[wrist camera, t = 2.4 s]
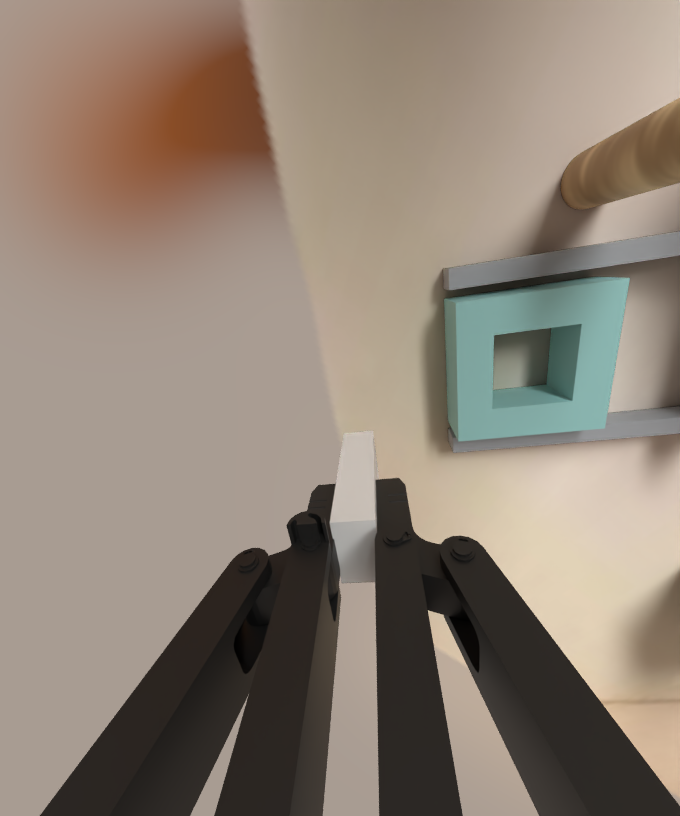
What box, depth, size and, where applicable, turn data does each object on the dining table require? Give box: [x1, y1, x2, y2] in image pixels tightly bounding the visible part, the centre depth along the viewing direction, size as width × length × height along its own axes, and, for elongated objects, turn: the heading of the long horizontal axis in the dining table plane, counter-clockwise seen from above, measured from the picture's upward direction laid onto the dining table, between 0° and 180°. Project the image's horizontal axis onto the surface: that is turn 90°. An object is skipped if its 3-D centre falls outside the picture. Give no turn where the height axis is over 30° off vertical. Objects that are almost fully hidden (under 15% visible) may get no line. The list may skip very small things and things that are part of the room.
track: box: [443, 231, 680, 453], centre depth 24 cm, size 16×22×6 cm
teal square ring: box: [444, 277, 630, 442], centre depth 26 cm, size 11×11×4 cm
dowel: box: [561, 98, 680, 210], centre depth 16 cm, size 4×4×14 cm
